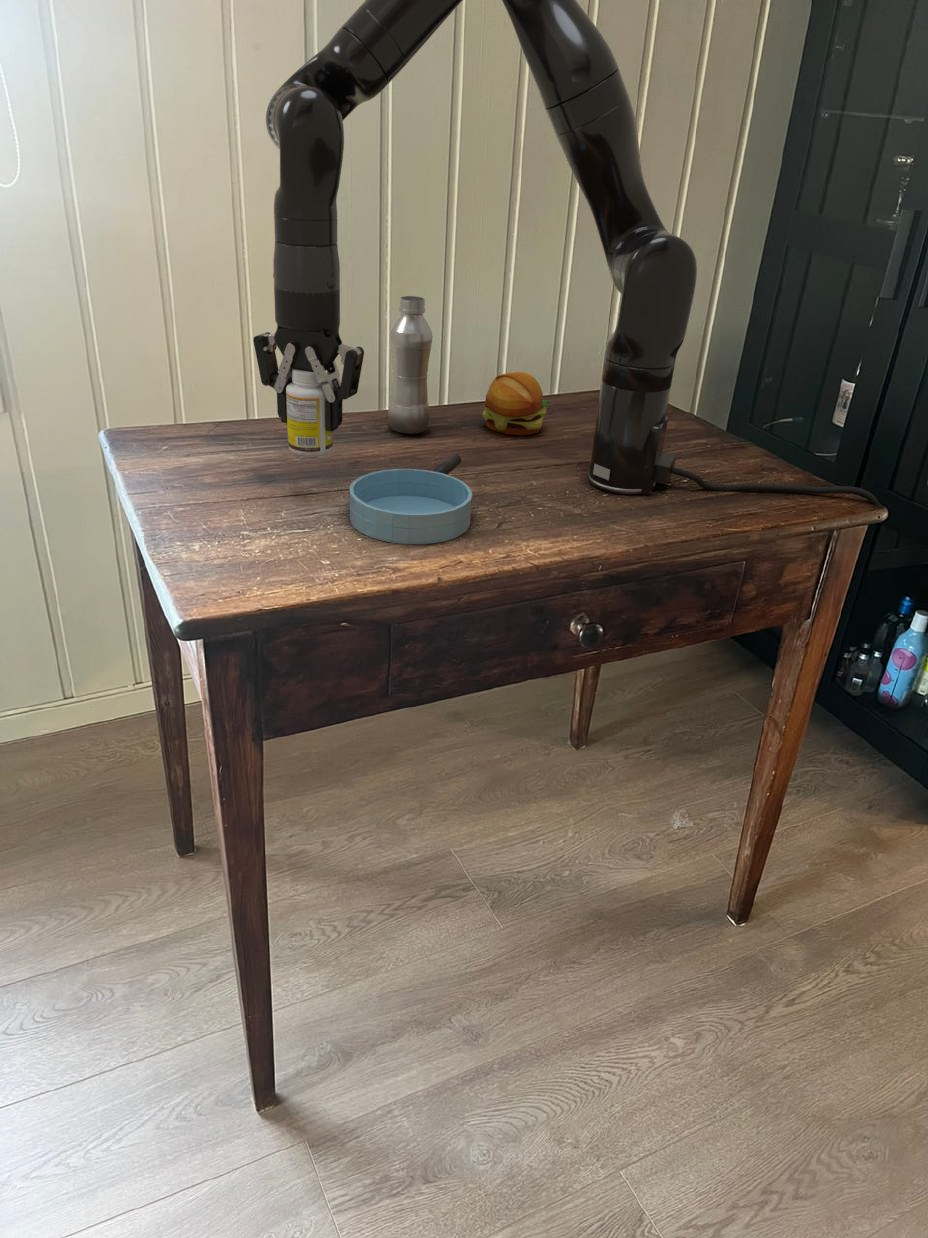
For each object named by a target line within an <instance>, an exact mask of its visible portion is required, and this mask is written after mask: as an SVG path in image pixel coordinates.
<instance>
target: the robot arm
mask: <svg viewBox="0 0 928 1238" xmlns="http://www.w3.org/2000/svg"><path fill="white" fill-rule="evenodd" d="M463 1H464V0H364V1H363V3H362V4H361V5H359V7H358V8H357V9H356V10H355V11H354V12H353V13H352V15H351V16H350V17H349V18H348V19H347V20H346V21H345V22H344V24H343V25H341V26H340V28H339V29H338V30H337V31H336V32H335V34H334V35H333V36H332V38H330V40H329V42H327V44H326V45H325V46H324V47H322V49H321V50H320V51H318V53H316V54H315V55H313V56H312V57H311V58H310V59H309V60H307V62H305V63H303V65H302V66H301V67H299V69H298V70H296V71H295V72H293V74H292V75H291V76H289V78H287V80H286V81H284V82H283V83H282V85H280V87H278V89H277V90H276V91H275V93H274V94H273V95H272V97H271V98H270V100H269V102H268V104H267V107H266V111H265V127H266V131H267V135H268V136H269V139H270V140H271V141H272V143H273V145H274V146H275V147H276V148H277V149H279V185H278V187H277V189H276V190H275V192H274V199H273V228H274V229H273V231H274V232H273V234H274V247H273V248H274V250H273V260H272V263H273V264H272V265H273V266H272V267H273V271H272V272H273V274H272V277H273V290H274V291H273V292H274V293H273V295H274V296H273V297H274V320H275V323H276V326H277V327H276V330H275V332H274V333H271V332H269V331H266V332H263V333H259V334H257V335H255V336H254V337H253V339H252V340H253V341H252V342H253V346H254V351H255V356H256V361H257V367H258V371H259V376H260V377H259V378H260V382H261V384H262V385H263V386H264V387H267V386H269V387H271V388H272V389H274V391H275V392H276V405H277V406H276V408H277V409H276V411H277V415H278V418H280V422H281V423H283V424H287V401H286V387H287V385H288V384H290V383H291V382H292V369H297V370H302V371H308V372H314V374H315V376H316V379H317V382H318V383H319V384H320V385H321V386H322V388H323V391H324V394H325V396H326V399H327V401H326V402H325V428H326V431H331V432H332V431H333V432H334V431H336V430H338V429H339V427H340V426H341V425H342V424H343V400H348V399H349V398H351V397H353V396H355V395H356V394H357V393H358V391H359V384H360V381H361V380H360V378H361V375H362V374H361V373H362V367H363V362H364V356H365V349H364V348H363V347H362V346H355V347H352V346H349V345H347V344H344V343H343V340H342V338H341V336H340V325H341V324H340V323H341V266H340V265H341V264H340V263H341V262H340V256H339V248H338V247H339V246H338V206H337V205H338V203H337V200H338V193H339V188H340V181H341V176H342V167H343V159H344V152H345V151H344V150H345V129H344V120H346V118H347V117H348V116H350V114H351V113H353V111H354V110H355V109H356V108H357V107H358V106H360V105H361V104H364V103H365V102H369V101H371V100H373V99H374V98H376V97H377V96H378V95H379V94H380V93H381V92H383V91H384V89H385V88H387V86H388V85H389V84H390V83H391V82H392V81H393V80H394V79H395V77H397V76H398V74H399V73H400V72H401V71H402V70H403V69H404V68H405V67H406V66H407V65H408V63H409V62H410V61H411V60H412V59H413V58H414V57H415V56H416V54H417V53H418V52H419V51H420V50H421V49H422V47H424V46H425V44H426V43H427V42H428V40H430V38H431V37H432V36H433V35H434V33H436V31H437V30H438V29H439V28H440V27H441V25H442V24H443V23H444V22H445V21H446V20H447V19H448V17H449V16H450V15H451V14H452V13H453V12H454V11H455V9H456V8H457V7H459V5H460V4H462V2H463ZM501 2H502V4H503V6H504V8H505V10H506V12H507V15H508V16H509V19H510V21H511V24H512V27H513V30H514V32H515V35H516V38H517V40H518V43H519V46H520V49H521V52H522V54H523V56H524V59H525V61H526V64H527V67H528V68H529V71H530V73H531V76H532V79H533V81H534V83H535V86H536V89H537V91H538V95H539V97H540V100H541V103H542V105H543V107H544V110H545V113H546V115H547V118H548V121H549V122H550V126H551V127H552V130H553V133H554V134H555V137H556V139H557V141H558V144H559V146H560V148H561V150H562V152H563V155H564V157H565V160H566V162H567V163H568V166H569V167H570V171H571V172H572V174H573V176H574V179H575V180H576V182H577V184H578V187H579V188H580V190H581V192H582V194H583V197H584V199H585V200H586V202H587V204H588V206H589V209H590V212H591V214H592V218H593V219H594V223H595V227H596V230H597V232H598V236H599V239H600V242H601V246H602V250H603V253H604V257H605V260H606V264H607V268H608V271H609V275H610V277H611V280H612V282H613V285H614V287H615V288H616V290H617V291H618V292H619V293H620V294H621V298H620V299H621V300H620V306H619V312H618V319H617V322H616V327H615V329H614V331H613V332H612V333H611V334H609V336H608V337H607V340H606V344H605V352H604V361H603V369H602V375H601V383H600V390H599V398H598V403H597V404H598V405H597V412H596V419H595V427H594V436H593V443H592V450H591V458H590V462H589V463H590V464H589V470H588V474H587V480H588V482H589V483H590V484H591V485H592V486H593V487H595V488H598V489H600V490H602V491H606V492H610V493H614V494H619V495H620V494H621V495H646V496H650V495H651V493H652V491H653V490H654V489H655V488H656V485H657V484H662V485H667V483H668V482H669V480H670V478H671V477H672V474H673V475H675V476H679V477H682V478H686V479H689V480H692V481H694V482H695V483H696V484H697V485H698V486H699V487H701V489H705V490H708V491H714V492H739V491H740V492H743V491H745V492H746V491H766V492H789V493H790V492H791V493H804V494H817V495H818V494H819V495H825V494H827V495H828V494H855V495H857V496H861V497H863V498H865V499H867V501H869V502H870V503H871V504H872V505H876V506H879V505H881V503H880V502H879V500H878V498H877V497H876V496H875V495H874V494H873V493H871V492H870V491H868V490H866V489H864V488H861V487H857V486H848V485H847V486H846V485H844V486H843V485H841V486H808V485H795V484H772V483H771V484H770V483H741V484H740V483H739V484H715V483H711V482H707V481H705V480H704V478H702V477H700V475H698V474H696V473H693V472H691V471H688V470H685V469H682V468H678V467H675V465H676V457H677V454H672V453H665V452H663V450H664V445H665V439H666V435H667V427H668V422H669V417H668V416H667V414H668V413H667V412H668V407H669V402H670V401H669V400H670V394H671V388H672V383H673V377H674V371H675V366H676V365H675V364H676V360H677V355H678V352H679V350H680V348H681V347H682V345H683V343H684V341H685V337H686V334H687V331H688V330H687V329H688V326H689V320H690V316H691V310H692V306H693V301H694V296H695V291H696V285H697V276H698V265H697V258H696V255H695V253H694V249H693V248H692V247H691V246H690V244H688V242H687V241H685V240H684V239H683V238H681V237H679V236H678V235H675V234H673V233H671V232H669V231H668V230H667V229H666V227H665V225H664V223H663V221H662V220H661V218H660V215H659V214H658V211H657V209H656V206H655V205H654V202H653V200H652V198H651V196H650V194H649V191H648V188H647V186H646V184H645V180H644V176H643V171H642V165H641V155H640V143H639V135H638V128H637V121H636V117H635V112H634V108H633V104H632V102H631V99H630V96H629V92H628V89H627V86H626V84H625V82H624V79H623V76H622V74H621V70H620V68H619V65H618V62H617V60H616V58H615V55H614V53H613V51H612V49H611V47H610V46H609V44H608V42H607V40H606V39H605V37H604V36H603V35H602V33H601V31H600V30H599V29H598V28H597V26H596V24H595V23H594V22H593V21H592V20H591V18H590V17H589V15H588V14H587V13H586V12H585V10H584V8H583V7H582V6H581V5H580V3H579V2H578V0H501ZM277 348H278V350H279V352H280V354H281V355H282V359H281V361H280V364H278V359H277V353H276V350H277ZM338 356H340V360H341V361H340V362H341V364H342V365H343V369H342V374H341V373H340V371H339V369H338V366H337V363H336V359H337V357H338ZM340 376H341V380H340Z"/></svg>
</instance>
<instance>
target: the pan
mask: <svg viewBox="0 0 928 1238" xmlns="http://www.w3.org/2000/svg"><path fill="white" fill-rule="evenodd" d="M348 491H349V494H348V503H349V505H348V509H349V510H348V514H349V522H350V524H351V526H352V527H353V528H354V529H355V530H357V532H359V533H360V534H363V535H364V536H366V537H369V538H373V539H375V540H379V541H382V542H387V543H393V544H400V545H429V544H430V545H432V544H437V543H443V542H447V541H451V540H453V539H456V538H458V537H460V536H462V535H463V534H464V533H466V532H467V530H468V529H469V528H470V526H471V521H472V508H473V507H472V506H473V492H472V489H471V487H470V486H469V485H468V484H467V483H465V482H464V481H463V480H461V479H459V478H457V477H455V476H453V475H449V474H447V475H446V474H443V473H439V472H434V471H433V470H429V469H420V468H419V469H418V468H391V469H381V470H377V471H372V472H368V473H367V474H364V475H361V476H359V477H357V478H356V479H355V480H352V483H351V484H350V486H349V489H348Z"/></svg>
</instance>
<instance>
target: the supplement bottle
mask: <svg viewBox="0 0 928 1238" xmlns="http://www.w3.org/2000/svg"><path fill="white" fill-rule="evenodd" d="M286 401H287V423H286V425H287V445H288V446H287V447H288V449H289V451H290V452H292V453H293V454H296V455H298V456H303V457H319V456H324V455H326V454H329V453H330V452H331V451H332V449H333V447H334V440H333V439H334V435H333V433H334V431H332V432H331V431H326V428H325V402H326V401H327V399H326V396H325V394H324V391H323V388H322V386H321V385H320V384H319V383H318V382H317V379H316V376H315V374H314V372H308V371H302V370H297V369H292V382H291V383H290V384H288V385H287V387H286Z"/></svg>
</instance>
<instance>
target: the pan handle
mask: <svg viewBox="0 0 928 1238" xmlns="http://www.w3.org/2000/svg"><path fill="white" fill-rule="evenodd" d="M461 463H462V457H461V455H459V454H458V453H454V454H451V455H450V456H449V457H448V458H446V459H445V460H444V461H442V463H440V464H439V465H438V466H436V467H435V468H434V469H432V471H434V472H439V473H443V474H446V475H449V474H450V473H451V472H453V470H454V469H456V468H457V467H458V466H459V465H461Z"/></svg>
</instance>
